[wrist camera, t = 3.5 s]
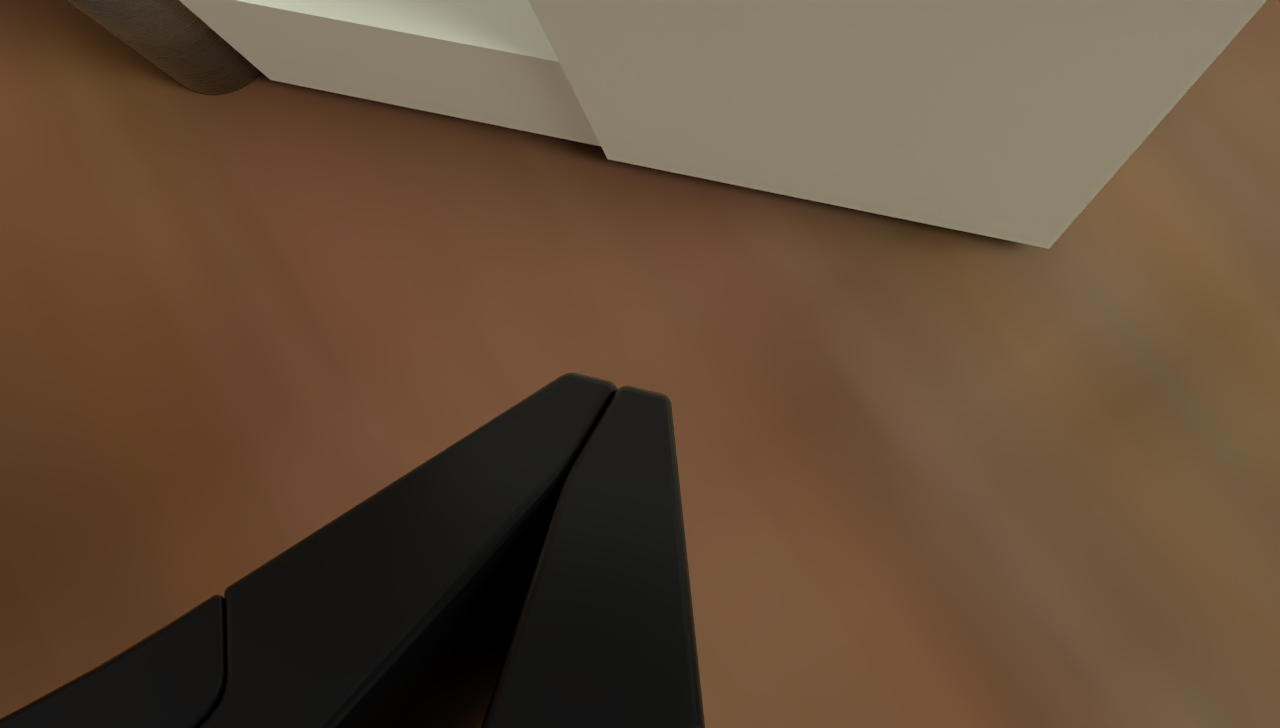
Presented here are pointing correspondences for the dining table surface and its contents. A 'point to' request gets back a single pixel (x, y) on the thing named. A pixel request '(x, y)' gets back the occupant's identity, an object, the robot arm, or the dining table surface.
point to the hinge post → (174, 42)
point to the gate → (784, 87)
